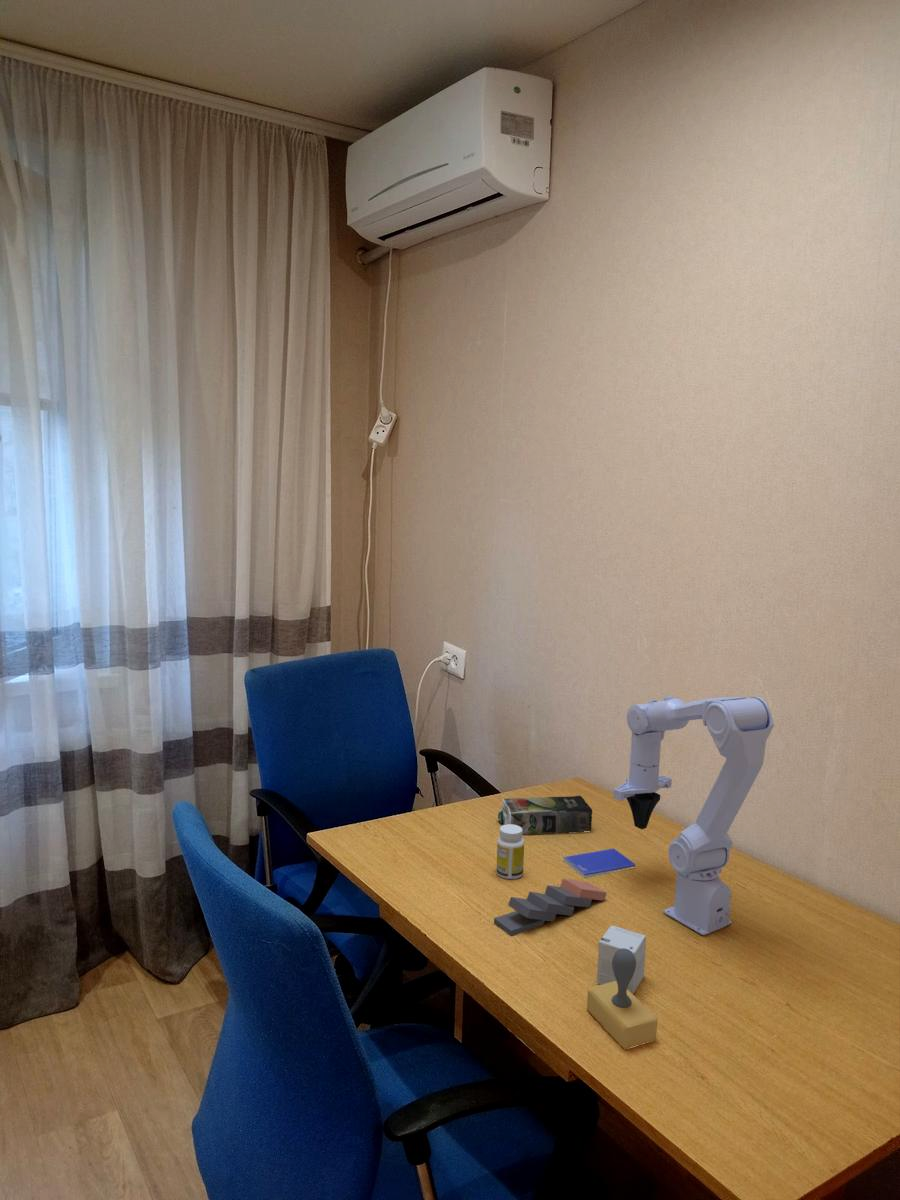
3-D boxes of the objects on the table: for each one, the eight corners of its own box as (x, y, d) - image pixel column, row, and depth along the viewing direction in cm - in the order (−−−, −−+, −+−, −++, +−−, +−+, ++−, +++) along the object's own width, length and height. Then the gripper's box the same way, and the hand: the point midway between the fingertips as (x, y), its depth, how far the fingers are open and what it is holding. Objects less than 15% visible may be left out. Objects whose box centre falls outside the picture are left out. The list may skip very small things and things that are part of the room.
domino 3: (554, 895, 159) (529, 891, 154) (574, 907, 155) (549, 903, 150) (552, 903, 159) (526, 899, 154) (571, 915, 155) (545, 912, 150)
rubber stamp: (585, 1009, 128) (589, 936, 126) (617, 1001, 130) (621, 929, 128) (624, 1051, 119) (629, 973, 117) (657, 1041, 121) (663, 964, 119)
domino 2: (526, 907, 156) (494, 918, 151) (544, 919, 151) (511, 930, 147) (526, 915, 156) (493, 926, 152) (543, 927, 152) (510, 939, 148)
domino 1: (537, 900, 156) (511, 896, 152) (556, 913, 153) (530, 909, 148) (534, 909, 156) (507, 905, 152) (553, 921, 152) (527, 918, 148)
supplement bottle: (523, 868, 173) (525, 824, 171) (522, 880, 168) (524, 835, 166) (496, 866, 173) (498, 822, 172) (495, 878, 168) (497, 833, 167)
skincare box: (644, 977, 137) (647, 934, 135) (632, 996, 131) (635, 952, 130) (608, 965, 140) (611, 923, 139) (595, 983, 134) (598, 940, 133)
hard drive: (584, 873, 169) (635, 863, 174) (563, 856, 177) (613, 847, 182) (584, 880, 170) (635, 871, 175) (563, 863, 177) (612, 854, 182)
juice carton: (505, 837, 188) (506, 811, 187) (496, 820, 197) (497, 795, 197) (591, 835, 191) (593, 809, 190) (578, 818, 201) (580, 793, 200)
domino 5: (587, 882, 165) (562, 878, 160) (606, 892, 161) (581, 889, 156) (585, 890, 165) (560, 886, 160) (604, 900, 161) (579, 897, 156)
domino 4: (572, 888, 162) (547, 885, 157) (592, 899, 158) (566, 896, 153) (570, 896, 162) (544, 893, 157) (589, 907, 158) (563, 904, 153)
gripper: (654, 750, 175) (650, 812, 177) (604, 762, 167) (600, 827, 169) (681, 760, 169) (676, 824, 171) (630, 773, 161) (625, 840, 163)
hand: (640, 827), depth 170 cm, fingers closed
